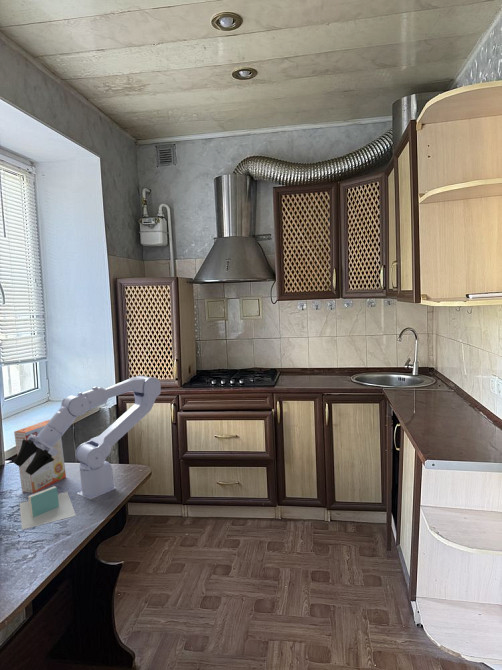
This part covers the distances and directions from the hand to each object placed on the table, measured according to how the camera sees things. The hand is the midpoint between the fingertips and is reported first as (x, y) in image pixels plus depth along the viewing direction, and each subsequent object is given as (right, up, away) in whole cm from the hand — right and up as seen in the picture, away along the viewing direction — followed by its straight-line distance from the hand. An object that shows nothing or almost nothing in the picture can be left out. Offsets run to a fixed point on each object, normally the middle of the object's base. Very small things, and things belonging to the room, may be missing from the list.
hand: (22, 469), depth 139 cm
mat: (+5, -14, +4) cm, 15 cm away
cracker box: (-4, -13, +24) cm, 28 cm away
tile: (+5, -13, +3) cm, 15 cm away
